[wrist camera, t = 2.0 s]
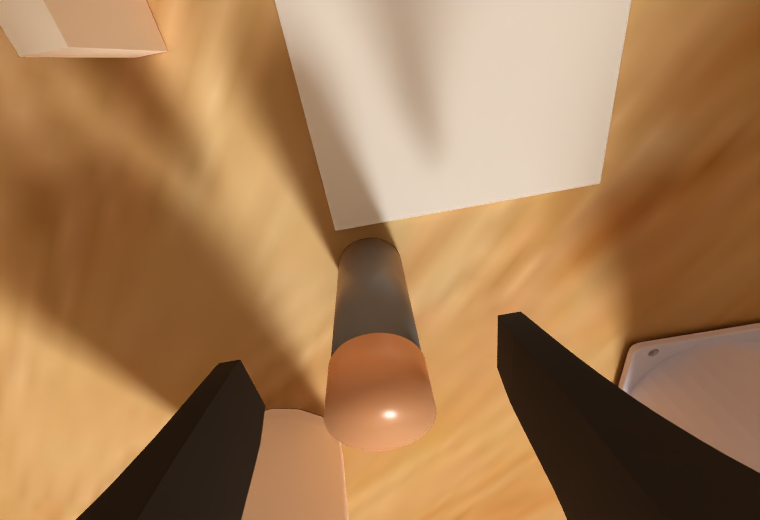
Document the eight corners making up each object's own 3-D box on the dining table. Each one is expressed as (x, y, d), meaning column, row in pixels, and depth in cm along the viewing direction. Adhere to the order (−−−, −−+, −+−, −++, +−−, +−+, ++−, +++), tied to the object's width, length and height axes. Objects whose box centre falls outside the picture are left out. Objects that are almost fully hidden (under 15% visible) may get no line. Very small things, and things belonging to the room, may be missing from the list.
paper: (643, -118, 9) (652, -124, 9) (595, 181, 13) (600, 183, 13) (266, -39, 9) (263, -42, 9) (335, 227, 13) (335, 231, 13)
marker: (397, 231, 13) (431, 371, 7) (406, 286, 15) (440, 441, 9) (330, 243, 14) (310, 390, 8) (345, 296, 15) (338, 457, 9)
